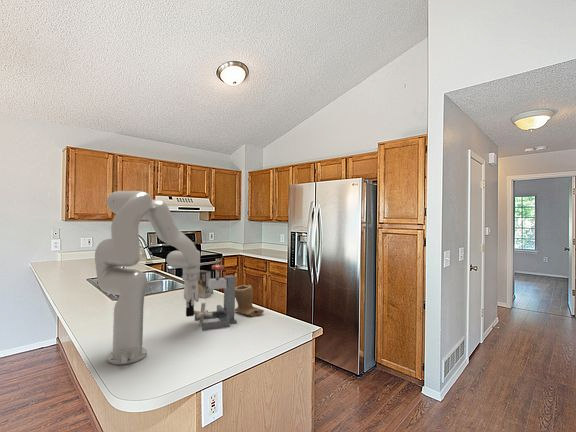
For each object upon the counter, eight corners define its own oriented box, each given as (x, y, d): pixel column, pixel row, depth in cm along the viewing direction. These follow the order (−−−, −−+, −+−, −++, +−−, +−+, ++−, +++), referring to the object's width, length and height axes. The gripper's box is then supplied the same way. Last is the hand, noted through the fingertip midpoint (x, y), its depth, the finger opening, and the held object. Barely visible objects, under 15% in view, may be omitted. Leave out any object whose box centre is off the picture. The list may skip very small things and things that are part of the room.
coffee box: (211, 296, 197) (212, 271, 197) (205, 298, 191) (206, 272, 191) (198, 294, 200) (199, 269, 200) (193, 296, 194) (193, 271, 194)
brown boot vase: (228, 312, 165) (229, 284, 165) (245, 308, 174) (246, 281, 174) (247, 320, 154) (248, 290, 154) (264, 314, 163) (265, 286, 163)
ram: (226, 293, 149) (227, 266, 149) (211, 295, 145) (211, 267, 145) (222, 290, 154) (223, 264, 154) (207, 292, 150) (208, 265, 150)
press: (239, 325, 146) (240, 279, 146) (202, 330, 138) (204, 281, 138) (228, 315, 161) (229, 273, 161) (194, 319, 152) (195, 275, 152)
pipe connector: (206, 328, 140) (209, 306, 141) (186, 325, 142) (188, 303, 143) (215, 323, 150) (217, 302, 151) (195, 320, 152) (198, 300, 153)
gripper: (203, 278, 139) (202, 319, 139) (195, 273, 152) (194, 310, 152) (186, 280, 135) (184, 321, 135) (179, 274, 148) (178, 312, 148)
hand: (189, 315), depth 143 cm, fingers closed
